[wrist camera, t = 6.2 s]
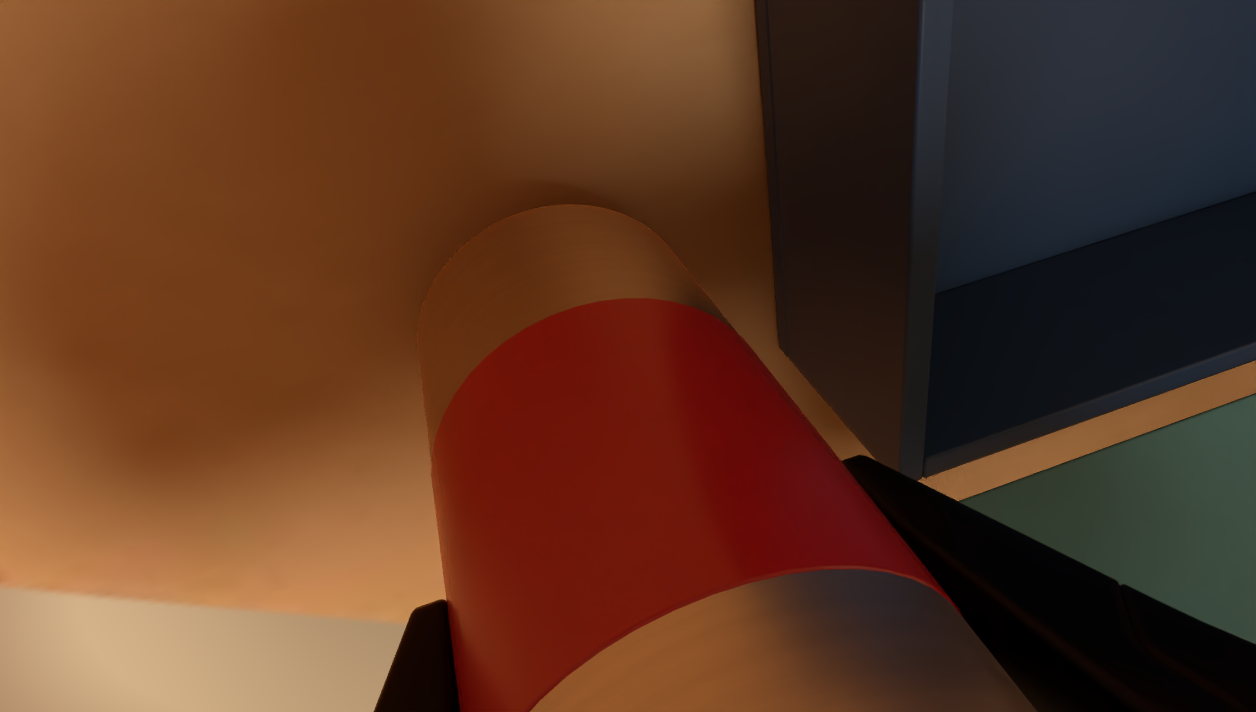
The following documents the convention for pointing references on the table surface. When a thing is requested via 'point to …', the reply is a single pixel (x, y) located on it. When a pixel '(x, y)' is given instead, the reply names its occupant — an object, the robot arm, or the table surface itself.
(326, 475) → the table surface
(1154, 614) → the robot arm
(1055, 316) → the dark blue open box
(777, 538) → the can
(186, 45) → the table surface
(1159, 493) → the lid
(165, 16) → the table surface
